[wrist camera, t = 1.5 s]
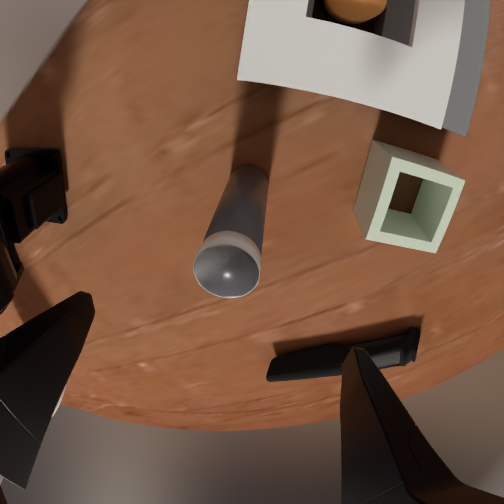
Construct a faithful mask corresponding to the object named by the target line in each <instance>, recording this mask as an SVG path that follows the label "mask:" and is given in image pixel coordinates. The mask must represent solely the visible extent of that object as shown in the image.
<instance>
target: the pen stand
mask: <svg viewBox="0 0 504 504" xmlns="http://www.w3.org/2000/svg"><path fill="white" fill-rule="evenodd" d="M400 172H403V173H406V174H410V175H413V176H416V177H420V178H423V181H422V184H421V187H420V190H419V193H418V196H417V198H416V201H415V204H414V207H413V209H412V212H411V214H409V213H405V212H401V211H397V210H392V209H388V207H389V204H390V201H391V198H392V195H393V192H394V189H395V186H396V183H397V179H398V176H399V173H400ZM464 183H465V180H464V179H463V178H462V177H460V176H459V175H458V174H456V173H455V172H454V171H452V170H451V169H450V168H448V167H447V166H446V165H444V164H443V163H442V162H440V161H439V160H437V159H434V158H431V157H428V156H425V155H422V154H419V153H416V152H413V151H410V150H406V149H403V148H400V147H396V146H393V145H390V144H386V143H383V142H379V141H375V140H372V144H371V148H370V151H369V155H368V159H367V163H366V166H365V170H364V174H363V177H362V181H361V184H360V188H359V191H358V194H357V198H356V201H355V204H354V208H353V212H354V214H355V216H356V218H357V221H358V223H359V225H360V227H361V230H362V232H363V234H364V237H365V239H366V240H372V241H377V242H382V243H387V244H392V245H397V246H402V247H407V248H412V249H417V250H422V251H427V252H432V253H436V251H437V249H438V247H439V245H440V243H441V240H442V238H443V236H444V234H445V231H446V229H447V227H448V224H449V222H450V219H451V217H452V214H453V212H454V209H455V207H456V204H457V202H458V199H459V197H460V194H461V191H462V188H463V186H464Z"/></svg>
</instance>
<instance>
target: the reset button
mask: <svg viewBox="0 0 504 504" xmlns="http://www.w3.org/2000/svg"><path fill="white" fill-rule="evenodd" d="M323 4H324V7H325V9H326V11H327V12H328V13H329V14H330V16H332V17H333V18H334V19H335V20H337V21H339V22H341V23H344V24H349V25H356V24H361V23H363V22H365V21H367V20H369V19H371V18H373V17H376V16H377V15H379V14H380V13H382V11H383V10H384V9H385V7H386V4H387V0H323Z"/></svg>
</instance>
